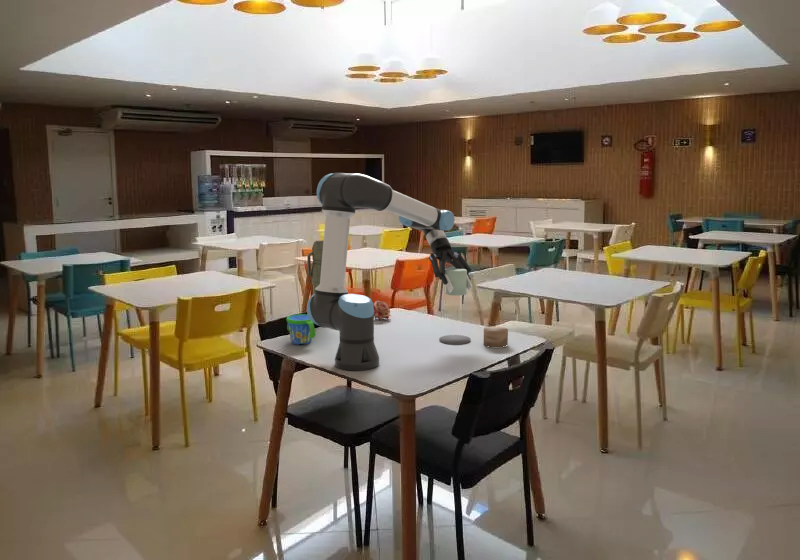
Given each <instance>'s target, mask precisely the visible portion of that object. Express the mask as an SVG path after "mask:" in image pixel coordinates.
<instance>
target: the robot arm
mask: <svg viewBox="0 0 800 560" xmlns="http://www.w3.org/2000/svg"><path fill="white" fill-rule="evenodd" d="M316 199H318V202H319V203H320V205H321V212H322V213H323V214H324V217H325V219H324V220H325V221H324V232H323V241H324V242H323V253H322V265H321V277H320V284H319V286H317V287H316V288H315V294H313V293H312V295H311V296H310V298H309V299H308V300H307V304H306V313H307V314H308V316H309V318H310V320H311V321H312V322H313V324H314V325H316V326H319V327H321V328H324V329H325V328H327V329H331V330H334V331H338V332H339V344H338V347H337V350H336V354H335V358H334V366H335V367H336V368H337V369H340V368H341V369H340V370H345V371H353V372H355V371H356V372H357V371H366V370H367V371H368V370H371V369H374V368H377V367H378V366H379V365H380V356H379V353H378V349H377V347H376V343H375V316H374V309H373V304H374V302H373V300H372V299H371V298H370V297H368V296H366V295H362V294H356V293H349V291H348V290H349V289H347V288H346V287H345V282H346V271H347V261H348V260H347V259H348V249H349V247H348V246H349V238H350V225H351V218H352V217H353V216H354V215H356V209H371V210H375V211H377V212H378V211H379V212H382V211H386V212H387V213H391V214H394V215H397V216H398V219H399V223H400V224H402V225H403V226H406V227H407V228H408V227H409V228H413V229H415V230H418V231H419V232H420V231H421V232H422V233H423V235H424V237H425V239H426V241H427V243H428V245H429V246H430V249H431V252H432V253H430V255H429V256H428V259H429V261H430V263H431V267H432V270H433V273H434V278H438V279H439V280H440V281H442V284H443V285H445V288H446V287H447V289H448V291H449V293H451V292H452V290H453V289H454V288H453V286H452V283H451V281H450V279H449V277H448V275H446V263H449V264H450V265H452V266H453V267H454V269H466V270H467V290H468V291H471V290H472V288H473V286H474V285H473V284H472V283H473V282H471V280H472V279H471V277H470V273H471V271H472V268H471V267H470V265H469V264H468V263H467V262H466V260H465V258H464V257H463V256H462V252H461V251H460V250H458V251H457V252H456V251H454V250H452V245H451V243H450V241H449V239H448V238H447V235H446V233H445V231H450V230H452V229H453V227H454V225H455V220H456V219H455V215H454V213H453V212H452V211H450V210H446V209H440V208H436V207H434V206H431V205H429V204H427V203H425V202H422V201H419V200H418V199H415V198H412V197H411V196H408V195H406V194H403V193H401V192H398V191H396V190H394V189H393V188H392V187H391V185H389V184H387V183H386V182H383V181H381V180H379V179H376V178H374V177H371V176H369V175H367V174H364V173H363V174H362V173H357V172H356V173H353V172H352V173H350V172H349V173H345V172H334V173H328V174H326V175H324V176H323V177H322V178H321V179H320V180H319V182H318V184H317V188H316Z"/></svg>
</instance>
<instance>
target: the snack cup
mask: <svg viewBox="0 0 800 560" xmlns="http://www.w3.org/2000/svg"><path fill="white" fill-rule="evenodd" d="M285 320H286V323H287V324H286V329H287V331H288V332H289V336H290V342H291V344H293V345H296V346H300V345H299V344H305V345H308V344H310V343H311V342H312V340H313V339H314V338H315V337H316V334H317V333H316V329H315V324H314V323H313V322H312V321H311V320H310V318H309V316H308V313H307V314H306V313H299V314H290V315H288V316H287V317H286V319H285Z"/></svg>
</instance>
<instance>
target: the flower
mask: <svg viewBox="0 0 800 560" xmlns="http://www.w3.org/2000/svg"><path fill="white" fill-rule="evenodd" d="M373 309H374V319H378V320H379V321H381V320H382V319H383V320H384V319H386V320H389V319H390V317H392V314H391V310H390V308H389V304H387V302H385V301H382V300H381V301H380V300H378V299H377V300H375V302H373Z"/></svg>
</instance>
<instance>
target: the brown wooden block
mask: <svg viewBox="0 0 800 560" xmlns="http://www.w3.org/2000/svg"><path fill="white" fill-rule="evenodd" d="M508 337H509V329H508V328H507V327H504V326H497V325H495V326H486V327H484V328H483V346H484V345H485V346H484V347H486V346H489V347H488V348H490V347H503V346H506V345H508V344H509V343H508V341H509V338H508ZM506 347H507V346H506ZM503 348H504V347H503Z"/></svg>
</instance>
